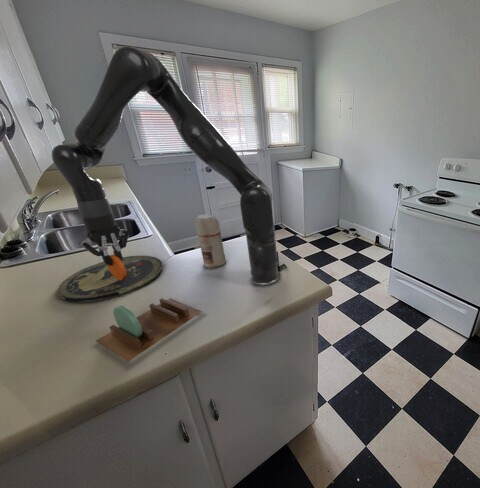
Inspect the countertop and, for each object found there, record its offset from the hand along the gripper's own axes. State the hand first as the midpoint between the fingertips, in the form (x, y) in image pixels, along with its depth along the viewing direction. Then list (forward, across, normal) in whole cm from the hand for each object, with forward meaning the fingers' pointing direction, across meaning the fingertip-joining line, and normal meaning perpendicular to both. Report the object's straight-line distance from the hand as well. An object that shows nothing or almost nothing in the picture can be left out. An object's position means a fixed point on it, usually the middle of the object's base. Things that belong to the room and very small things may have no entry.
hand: (114, 262), depth 89 cm
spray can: (+8, +25, -17) cm, 31 cm away
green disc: (+7, -14, -32) cm, 36 cm away
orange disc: (+6, 0, 0) cm, 6 cm away
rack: (+8, -9, -32) cm, 34 cm away
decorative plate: (+8, +1, +6) cm, 10 cm away
